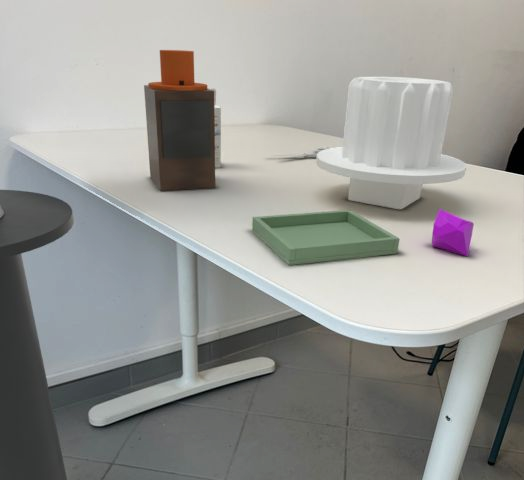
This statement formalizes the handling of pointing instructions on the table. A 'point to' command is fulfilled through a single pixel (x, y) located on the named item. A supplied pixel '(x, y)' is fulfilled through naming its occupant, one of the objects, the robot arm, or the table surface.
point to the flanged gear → (393, 140)
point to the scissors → (306, 154)
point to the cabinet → (181, 138)
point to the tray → (323, 236)
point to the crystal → (452, 233)
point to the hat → (177, 72)
